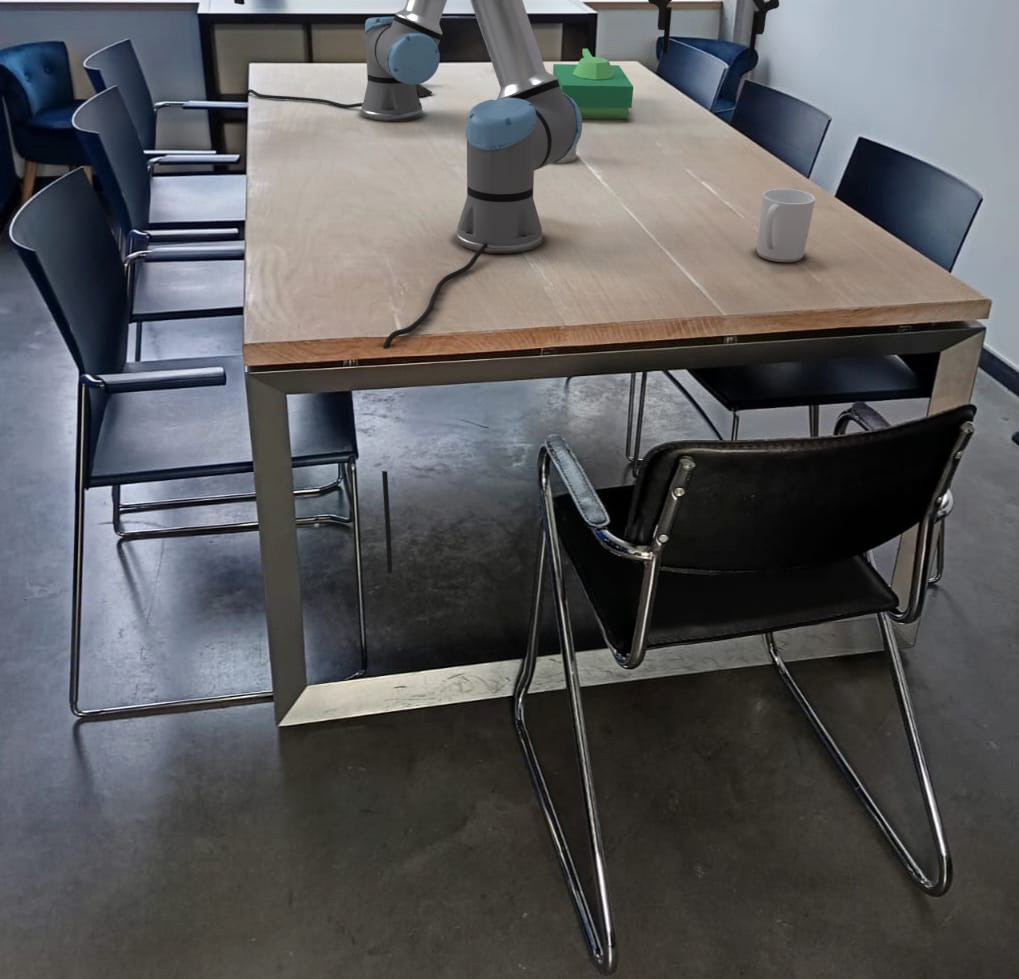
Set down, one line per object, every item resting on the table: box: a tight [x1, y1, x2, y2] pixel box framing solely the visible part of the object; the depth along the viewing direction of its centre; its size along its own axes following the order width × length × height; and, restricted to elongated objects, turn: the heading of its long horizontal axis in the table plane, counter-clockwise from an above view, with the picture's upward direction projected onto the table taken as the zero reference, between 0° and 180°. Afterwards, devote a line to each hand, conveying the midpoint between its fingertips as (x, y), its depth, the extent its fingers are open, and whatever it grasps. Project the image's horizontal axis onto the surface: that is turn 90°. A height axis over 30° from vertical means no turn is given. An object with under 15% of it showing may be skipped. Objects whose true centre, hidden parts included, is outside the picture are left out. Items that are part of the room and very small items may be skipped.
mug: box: [756, 188, 816, 263], centre depth 188 cm, size 11×9×10 cm
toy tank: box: [552, 48, 634, 120], centre depth 286 cm, size 18×12×35 cm
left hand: (265, 1), depth 240 cm, fingers open, 13 cm apart
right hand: (707, 54), depth 175 cm, fingers open, 13 cm apart
